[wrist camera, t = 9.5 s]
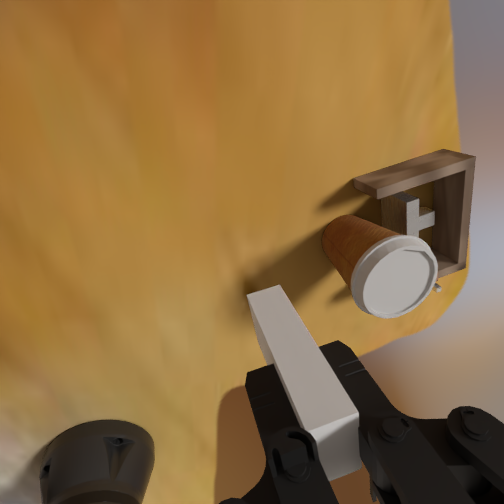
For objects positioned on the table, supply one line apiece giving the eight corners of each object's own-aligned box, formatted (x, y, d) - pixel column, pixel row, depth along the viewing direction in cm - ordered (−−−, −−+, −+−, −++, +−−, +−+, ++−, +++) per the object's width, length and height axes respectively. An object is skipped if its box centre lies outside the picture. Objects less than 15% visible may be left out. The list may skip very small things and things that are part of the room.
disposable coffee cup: (388, 229, 47) (457, 272, 36) (340, 280, 48) (392, 335, 38) (347, 187, 42) (411, 222, 32) (295, 245, 44) (340, 296, 34)
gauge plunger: (383, 261, 49) (427, 295, 41) (380, 190, 44) (430, 214, 36) (420, 248, 50) (470, 279, 42) (421, 176, 44) (479, 197, 37)
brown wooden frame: (362, 280, 50) (383, 301, 45) (353, 178, 42) (378, 190, 37) (438, 252, 51) (467, 269, 46) (443, 148, 43) (477, 157, 39)
